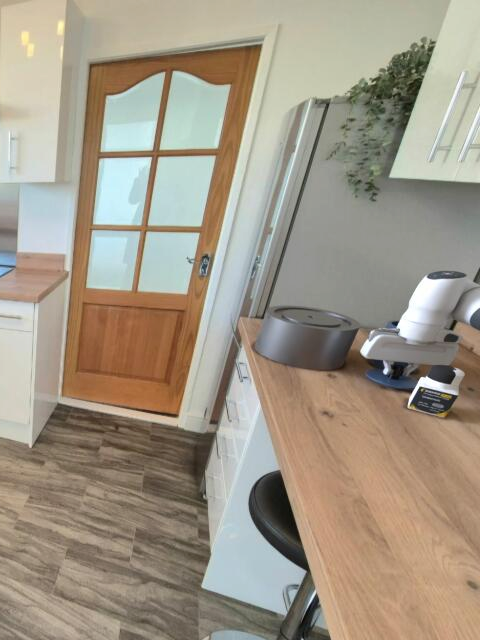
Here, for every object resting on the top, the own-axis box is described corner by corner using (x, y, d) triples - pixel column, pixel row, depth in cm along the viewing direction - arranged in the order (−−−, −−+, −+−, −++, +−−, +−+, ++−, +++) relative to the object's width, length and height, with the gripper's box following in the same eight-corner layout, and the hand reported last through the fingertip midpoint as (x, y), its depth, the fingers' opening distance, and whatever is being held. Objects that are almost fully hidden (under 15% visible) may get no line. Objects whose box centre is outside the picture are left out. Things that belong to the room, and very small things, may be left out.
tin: (405, 362, 141) (425, 323, 134) (423, 376, 131) (446, 335, 125) (363, 356, 144) (381, 318, 138) (378, 370, 135) (398, 330, 129)
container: (361, 372, 133) (380, 332, 127) (273, 366, 137) (287, 327, 131) (317, 343, 155) (332, 307, 149) (243, 338, 159) (254, 303, 153)
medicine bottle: (407, 408, 114) (429, 367, 109) (408, 399, 119) (430, 359, 113) (444, 418, 110) (469, 377, 104) (445, 408, 114) (469, 368, 109)
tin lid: (406, 376, 130) (415, 360, 127) (428, 394, 119) (437, 378, 117) (357, 370, 133) (365, 354, 131) (374, 387, 123) (382, 371, 121)
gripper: (379, 330, 119) (358, 375, 125) (471, 338, 114) (444, 384, 120) (367, 323, 124) (348, 366, 131) (454, 330, 119) (430, 374, 126)
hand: (394, 374), depth 125 cm, fingers closed on tin lid, 2 cm apart
